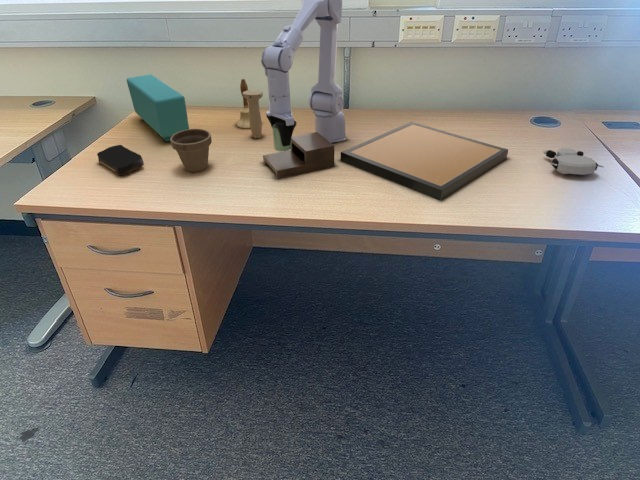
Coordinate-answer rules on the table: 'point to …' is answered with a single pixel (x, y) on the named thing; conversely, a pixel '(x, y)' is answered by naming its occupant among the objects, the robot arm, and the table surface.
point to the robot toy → (571, 162)
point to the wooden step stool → (307, 145)
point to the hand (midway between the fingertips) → (282, 142)
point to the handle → (254, 111)
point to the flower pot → (192, 148)
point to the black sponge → (120, 159)
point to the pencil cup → (279, 140)
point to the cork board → (425, 158)
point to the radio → (158, 105)
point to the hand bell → (244, 112)
